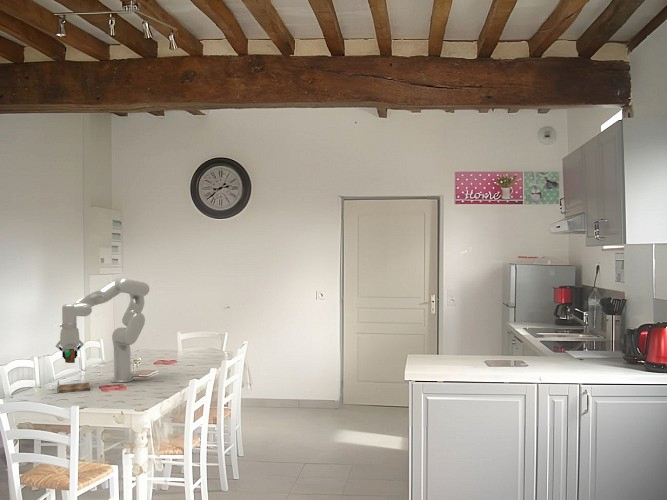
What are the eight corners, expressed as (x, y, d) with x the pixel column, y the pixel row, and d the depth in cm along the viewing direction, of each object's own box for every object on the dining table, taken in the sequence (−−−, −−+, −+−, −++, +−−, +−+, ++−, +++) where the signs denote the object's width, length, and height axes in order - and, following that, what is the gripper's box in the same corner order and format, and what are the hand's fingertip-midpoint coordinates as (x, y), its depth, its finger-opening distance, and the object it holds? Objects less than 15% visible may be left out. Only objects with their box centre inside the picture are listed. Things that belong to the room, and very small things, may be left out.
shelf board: (89, 385, 404) (89, 379, 404) (90, 390, 389) (90, 384, 389) (57, 387, 398) (57, 381, 398) (57, 393, 383) (57, 386, 383)
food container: (63, 360, 398) (63, 343, 398) (74, 360, 400) (74, 342, 401) (62, 363, 387) (62, 345, 387) (74, 363, 389) (74, 345, 389)
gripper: (53, 327, 387) (53, 360, 387) (85, 326, 394) (86, 358, 394) (53, 326, 394) (53, 358, 394) (85, 324, 401) (85, 356, 401)
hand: (69, 358), depth 394 cm, fingers closed on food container, 5 cm apart
